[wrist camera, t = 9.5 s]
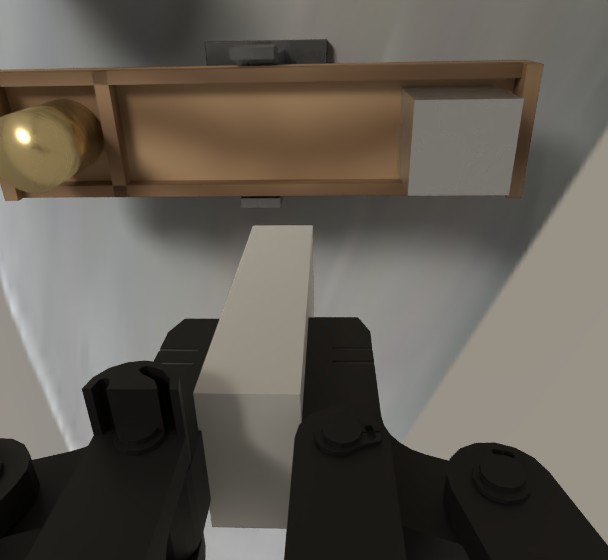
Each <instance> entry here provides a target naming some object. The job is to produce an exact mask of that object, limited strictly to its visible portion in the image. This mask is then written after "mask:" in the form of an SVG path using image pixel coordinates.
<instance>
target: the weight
mask: <svg viewBox="0 0 608 560" xmlns="http://www.w3.org/2000/svg"><path fill="white" fill-rule="evenodd" d="M103 147H104V136H103V131H102V127H101V125H100V123H99V121H98V119H97V118H96V116H95V115H94V114H93V113H92V112H91V111H90V110H89V109H88V108H87V107H86V106H84V105H82V104H81V103H79V102H77V101H74V100H70V99H56V100H53V101H49V102H46V103H43V104H40V105H36V106H33V107H30V108H27V109H23V110H20V111H17V112H14V113H10V114H7V115H4V116H2V117H0V177H1V178H2V179H3V180H4V181H6V182H7V183H8V184H10V185H11V186H13V187H15V188H17V189H19V190H21V191H25V192H29V193H42V192H46V191H49V190H51V189H53V188H54V187H56V186H58V185H59V184H61V183H62V182H64V181H66V180H67V179H69V178H70V177H72V176H74V175H75V174H77V173H78V172H80V171H82V170H83V169H85V168H86V167H88V166H90V165H91V164H93V163H94V162H95V161H96V160H97V159H98V158H99V157H100V155H101V153H102V151H103Z"/></svg>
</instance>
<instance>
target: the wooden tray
mask: <svg viewBox="0 0 608 560" xmlns="http://www.w3.org/2000/svg"><path fill="white" fill-rule="evenodd" d="M542 70H543V64H541V63H536V62H532V61H528V60H493V61H440V62H387V63H334V64H280V65H227V66H174V67H121V68H68V69H15V70H0V117H2V116H4V115H7V114H10V113H14V112H17V111H20V110H23V109H27V108H30V107H33V106H36V105H40V104H43V103H46V102H49V101H53V100H56V99H70V100H74V101H77V102H79V103H81V104H82V105H84V106H86V107H87V108H88V109H89V110H90V111H91V112H92V113H93V114H94V115H95V116H96V118H97V119H98V121H99V123H100V125H101V127H102V131H103V136H104V147H103V151H102V153H101V155H100V157H99V158H98V159H97V160H96V161H95V162H94V163H93V164H91V165H90V166H88V167H86V168H85V169H83V170H82V171H80V172H78V173H77V174H75V175H74V176H72V177H70V178H69V179H67V180H66V181H64V182H62V183H61V184H59V185H58V186H56V187H54V188H53V189H51V190H49V191H46V192H42V193H29V192H25V191H21V190H19V189H17V188H15V187H13V186H11V185H10V184H8V183H7V182H6V181H4V180H3V179H2V178H1V177H0V184H1V188H2V191H3V195H4V198H5V201H19V200H20V199H22V198H43V197H193V196H343V195H407V193H406V190H405V188H404V186H403V183H402V181H401V179H400V176H399V174H398V172H397V155H398V138H399V121H400V105H401V88H402V87H430V86H496V87H499V88H501V89H503V90H506V91H508V92H510V93H512V94H515V95H517V96H519V97H522V98H524V103H523V109H522V115H521V122H520V128H519V134H518V140H517V147H516V153H515V159H514V166H513V172H512V178H511V184H510V191H509V195H505V196H506V198H521V195H522V189H523V183H524V177H525V171H526V165H527V159H528V153H529V147H530V142H531V136H532V130H533V124H534V118H535V112H536V106H537V100H538V94H539V88H540V82H541V76H542Z"/></svg>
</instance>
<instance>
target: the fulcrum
mask: <svg viewBox="0 0 608 560" xmlns="http://www.w3.org/2000/svg"><path fill="white" fill-rule="evenodd" d="M205 50H206V60H207V66H227V65H280V64H327V39H313V40H266V41H219V42H205ZM282 199H283V196H242V197H241V208H280V207H281V203H282Z"/></svg>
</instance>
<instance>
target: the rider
mask: <svg viewBox="0 0 608 560" xmlns="http://www.w3.org/2000/svg"><path fill="white" fill-rule="evenodd" d="M523 103H524V98H522V97H519V96H517V95H515V94H512V93H510V92H508V91H506V90H503V89H501V88H499V87H496V86H430V87H402V88H401V105H400V121H399V138H398V155H397V172H398V174H399V176H400V179H401V181H402V183H403V186H404V188H405V190H406V193H407V195H408V196H451V195H509V191H510V184H511V178H512V172H513V166H514V159H515V153H516V147H517V140H518V134H519V128H520V122H521V115H522V109H523Z"/></svg>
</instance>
